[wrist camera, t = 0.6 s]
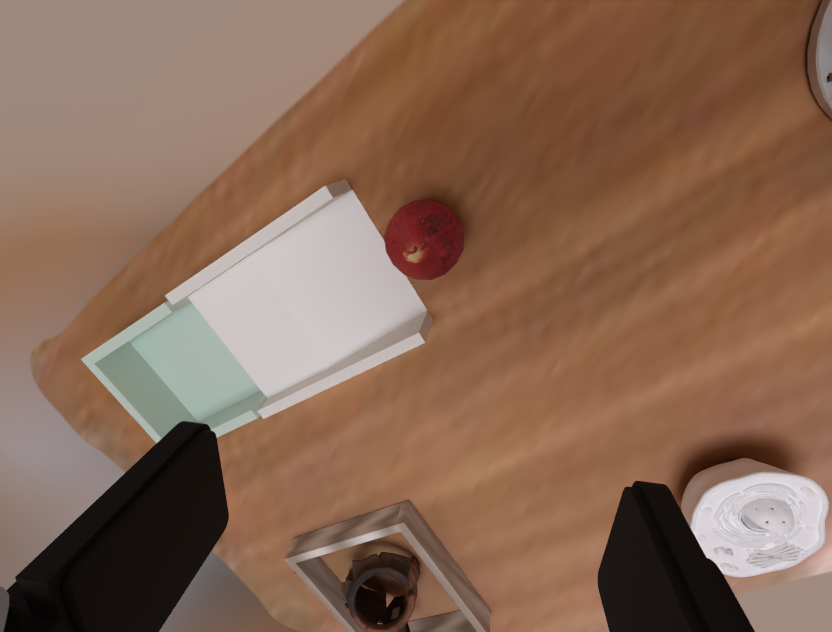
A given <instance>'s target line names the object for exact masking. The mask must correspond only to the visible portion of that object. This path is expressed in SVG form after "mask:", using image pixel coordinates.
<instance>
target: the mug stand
mask: <svg viewBox="0 0 832 632" xmlns="http://www.w3.org/2000/svg"><path fill="white" fill-rule="evenodd" d="M397 532H402V534H403V535H404V536H405V538H406V539H407V540H408V542H409V543H410V544H411V546H412V547H413V548H414V549H415V551H416V552H417V553H418V555H419V556H420V557H421V559H422V560H423V561H424V563H425V564H426V565H427V567H428V568H429V569H430V570H431V572H432V573H433V574H434V576H435V577H436V578H437V580H438V581H439V582H440V584H441V585H442V586H443V588H444V589H445V590H446V591H447V593H448V594H449V595H450V597H451V598H452V599H453V601H454V602H455V603H456V605H457V606H458V607H459V608H460V610H461V611H456V612H452V613H447V614H442V615H437V616H433V617H428V618H423V619H419V620H414V621H409V622H408V625H409V628H410V632H490V609H489V608H488V607H487V605H486V604H485V603H484V601H483V600H482V599H481V597H480V596H479V594H478V593H477V592H476V590H475V589H474V588H473V586H472V585H471V584H470V582H469V581H468V579H467V578H466V577H465V575H464V574H463V573H462V571H461V570H460V569H459V567H458V566H457V565H456V563H455V562H454V560H453V559H452V558H451V556H450V555H449V554H448V552H447V551H446V550H445V548H444V547H443V545H442V544H441V543H440V541H439V540H438V539H437V537H436V536H435V535H434V533H433V532H432V531H431V529H430V528H429V526H428V525H427V524H426V522H425V521H424V520H423V518H422V517H421V516H420V514H419V513H418V511H417V510H416V509H415V507H414V506H413V505H412V503H411V502H410V501H409V500H408V501H405V502H402V503H399V504H396V505H393V506H389V507H386V508H383V509H380V510H377V511H374V512H371V513H368V514H365V515H362V516H359V517H356V518H353V519H350V520H347V521H344V522H341V523H338V524H335V525H332V526H329V527H325V528H322V529H319V530H316V531H313V532H310V533H307V534H304V535H301V536H298V537H295V538H294V540H293V542H292V544H291V546H290V548H289V550H288V552H287V554H286V556H285V558H284V560H285V561H286V562H287V563H288V564H289V566H290V567H291V568H292V569H293V570H294V571H295V572H296V573H297V575H298V576H299V577H300V578H301V579H302V580H303V581H304V582H305V584H306V585H307V586H308V587H309V588H310V589H311V590H312V592H313V593H314V594H315V595H316V596H317V597H318V598H319V599H320V601H321V602H322V603H323V604H324V605H325V606H326V607H327V608H328V610H329V611H330V612H331V613H332V614H333V615H334V616H335V617H336V619H337V620H338V621H339V622H340V623H341V624H342V625H343V627H344V628H345V629H346V630H347V631H348V632H366V631H364V630H362V629H361V628H360V627H359V626H358V625H357V624H356V623H355V621H354V620H353V619H352V618H351V616H350V615H349V614H348V612H347V610H346V608H345V606H344V604H345V603H347V601H346V599H345V597H344V595H343V592H342V590H341V586H342V583H341V582H340V581H339V580H338V578H337V577H336V576H335V575H334V574H333V573H332V571H331V570H330V569H329V568H328V567H327V566H326V564H325V563H324V562H323V561H322V560H321V558H320V557H319V556H321V555H324V554H327V553H331V552H334V551H337V550H341V549H344V548H347V547H351V546H354V545H357V544H361V543H364V542H367V541H371V540H374V539H377V538H381V537H384V536H387V535H391V534H394V533H397Z"/></svg>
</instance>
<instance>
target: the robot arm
mask: <svg viewBox="0 0 832 632" xmlns="http://www.w3.org/2000/svg"><path fill="white" fill-rule="evenodd" d="M807 56H808V76H809V80H810V85H811V89H812V92H813V94H814V96H815V98H816V99H817V101H818V103H819V105H820V107H821V108H822V109H823V110H824V111H825V112H826V113H827V115H828V116H829V117H830V118H831V119H832V0H823V1H822V3H821V5H820V7H819V10H818V13H817V15H816V18H815V21H814V23H813V26H812V30H811V35H810V40H809V45H808V51H807ZM828 75H829V79H828V81H827V76H828ZM228 518H229V513H228V507H227V501H226V494H225V488H224V482H223V475H222V469H221V463H220V457H219V450H218V444H217V438H216V434H215V432H214V431H211V429H210V427H209V426H208V424H203V423H196V422H188V421H182V422H180V423H178V424H177V425H176V426H175V427H174V428H172V429H171V430H170V431H169V432H168V433H167V434H166V435H165V436H164V437H163V438H162V439H161V440H160V441H159V442H158V443H157V444H156V445H155V446H153V447H152V448H151V449H150V450H149V451H148V452H147V453H146V454H145V455H144V456H143V457H142V458H141V459H140V460H139V461H138V462H137V463H135V464H134V465H133V466H132V467H131V468H130V469H129V470H128V471H127V472H126V473H125V474H124V475H123V476H122V477H121V478H120V479H119V480H118V481H117V482H115V483H114V484H113V485H112V486H111V487H110V488H109V489H108V490H107V491H106V492H105V493H104V494H103V495H102V496H101V497H100V498H99V499H97V500H96V501H95V502H94V503H93V504H92V505H91V506H90V507H89V508H88V509H87V510H86V511H85V512H84V513H83V514H82V515H81V516H79V517H78V518H77V519H76V520H75V521H74V522H73V523H72V524H71V525H70V526H69V527H68V528H67V529H66V530H65V531H64V532H63V533H62V534H60V536H58V537H57V538H56V539H55V540H54V541H53V542H52V543H51V544H50V545H49V546H48V547H47V548H46V549H45V550H44V551H42V552H41V553H40V554H39V555H38V556H37V557H36V558H35V559H34V560H33V561H32V562H31V563H30V564H29V565H28V566H27V567H26V568H25V569H24V570H23V571H21V572H20V573H19V574H18V575H17V576H16V577H15V578H16V580H17V581H16V582H15V583H14V584H13V585H12V586H11V587H10V588H9V589H8V590H7V591H6V590H5V589H4V588H3V587H0V632H159V630H160V629H161V627H162V626H163V624H164V623H165V621H166V619H167V618H168V616H169V615H170V614H171V612H172V610H173V609H174V607H175V606H176V604H177V603H178V601H179V600H180V598H181V597H182V595H183V594H184V592H185V590H186V589H187V587H188V586H189V584H190V583H191V581H192V580H193V578H194V577H195V575H196V574H197V572H198V570H199V569H200V567H201V566H202V564H203V563H204V561H205V560H206V558H207V557H208V555H209V553H210V552H211V550H212V549H213V547H214V546H215V544H216V543H217V541H218V540H219V538H220V537H221V535H222V534H223V532H224V530H225V528H226V526H227V523H228ZM598 588H599V593H600V597H601V600H602V604H603V608H604V612H605V616H606V619H607V623H608V627H609V631H610V632H755V631H754V629H753V628H752V626H751V624H750V622H749V620H748V619H747V617H746V615H745V613H744V611H743V610H742V608H741V606H740V604H739V603H738V601H737V599H736V597H735V595H734V593H733V592H732V590H731V588H730V586H729V584H728V583H727V581H726V579H725V577H724V575H723V574H722V572H721V570H720V569H719V568H718V566H717V565H716V563H714V562H713V561H712V560H711V559H709V558H706V556H705V554H704V552H703V550H702V548H701V547H700V545H699V543H698V541H697V539H696V537H695V535H694V534H693V532H692V530H691V528H690V526H689V524H688V523H687V521H686V519H685V517H684V515H683V513H682V511H681V510H680V508H679V506H678V504H677V502H676V500H675V498H674V497H673V495H672V493H671V491H670V489H669V488H668V487H667V486H666V485H664V484H658V483H650V482H643V481H635V482H634V483H633V485H632V487H625V488H624V490H623V493H622V497H621V500H620V503H619V506H618V510H617V513H616V516H615V519H614V523H613V526H612V529H611V532H610V536H609V539H608V542H607V545H606V549H605V552H604V555H603V558H602V562H601V565H600V568H599V572H598Z"/></svg>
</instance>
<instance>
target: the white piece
mask: <svg viewBox="0 0 832 632" xmlns="http://www.w3.org/2000/svg"><path fill="white" fill-rule="evenodd" d="M165 297H166V298H167V299H168V300H169V302H170V303H171V304H172V305H174V304H176V303H178V302H179V301H181V300H183V299H185V298H187V297H188V298H189V300H190V301H191V302H192V303H193V305H194V306H195V307H196V309H197V310H198V311H199V312H200V314H201V315H202V316H203V317H204V319H205V320H206V321H207V322H208V324H209V325H210V326H211V328H212V329H213V330H214V331H215V333H216V334H217V335H218V336H219V338H220V339H221V340H222V342H223V343H224V344H225V345H226V347H227V348H228V349H229V350H230V352H231V353H232V354H233V356H234V357H235V358H236V359H237V361H238V362H239V363H240V364H241V366H242V367H243V368H244V369H245V371H246V372H247V373H248V375H249V376H250V377H251V378H252V380H253V381H254V382H255V383H256V385H257V386H258V387H259V389H260V390H261V391H262V392H263V394H264V395H265V396H266V397H267V400H266V401H265V402H264V403H263V405H262V406H261V407H260V408H259V409H258V410H257V411H258V412H259V414H260V415H261V416H262V417H263V419H265V418H267V417H269V416H271V415H273V414H275V413H277V412H279V411H281V410H284V409H286V408H288V407H290V406H292V405H294V404H296V403H298V402H301V401H303V400H305V399H307V398H309V397H311V396H313V395H315V394H317V393H320V392H322V391H324V390H326V389H328V388H330V387H332V386H334V385H337V384H339V383H341V382H343V381H345V380H347V379H349V378H351V377H353V376H356V375H358V374H360V373H362V372H364V371H366V370H368V369H370V368H373V367H375V366H377V365H379V364H381V363H383V362H385V361H387V360H390V359H392V358H394V357H396V356H398V355H400V354H402V353H404V352H406V351H409V350H411V349H413V348H415V347H417V346H419V345H421V344H423V343H425V342H426V339H427V336H428V333H429V330H430V328H431V325H432V322H433V319H432V317H431V316H430V314H429V312H428V311H427V309H426V307H425V306H424V304H423V303H422V301H421V299H420V298H419V296H418V295H417V293H416V291H415V290H414V288H413V287H412V285H411V283H410V282H409V280H408V278H407V277H406V275H404V274H403V273H402V272H400V271H399V270H398V269H397V268H396V267H395V266H394V265H393V264H392V262H391V260H390V258H389V256H388V255H387V253H386V248H385V241H384V240H383V238H382V237H381V235H380V233H379V232H378V230H377V229H376V227H375V225H374V224H373V222H372V220H371V219H370V217H369V216H368V214H367V212H366V211H365V209H364V208H363V206H362V204H361V203H360V201H359V200H358V198H357V196H356V195H355V193H354V191H353V190H352V188H351V187H350V185H349V184H348V182H347V180H346V179H343V180H340V181H337V182H335V183H332V184H329V185H326V186H324V187H323V188H321V189H320V190H318V191H317V192H315V193H314V194H312V195H311V196H309V197H308V198H306V199H305V200H304V201H302V202H301V203H299V204H298V205H296V206H295V207H293V208H292V209H290V210H289V211H287V212H286V213H285V214H283V215H282V216H280V217H279V218H277V219H276V220H274V221H273V222H271V223H270V224H269V225H267V226H266V227H264V228H263V229H261V230H260V231H258V232H257V233H255V234H254V235H252V236H251V237H250V238H248V239H247V240H245V241H244V242H242V243H241V244H239V245H238V246H236V247H235V248H234V249H232V250H231V251H229V252H228V253H226V254H225V255H223V256H222V257H220V258H219V259H217V260H216V261H215V262H213V263H212V264H210V265H209V266H207V267H206V268H204V269H203V270H201V271H200V272H199V273H197V274H196V275H194V276H193V277H191V278H190V279H188V280H187V281H185V282H184V283H182V284H181V285H180V286H178V287H177V288H175V289H174V290H172V291H171V292H169V293H168V294H166V295H165Z"/></svg>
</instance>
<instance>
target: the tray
mask: <svg viewBox="0 0 832 632" xmlns="http://www.w3.org/2000/svg"><path fill="white" fill-rule="evenodd" d="M81 360H82V361H83V362H84V363H85V365H86V366H87V367H88V368H89V369H90V370H91V371H92V372H93V373H94V374H95V376H96V377H97V378H98V379H99V380H100V381H101V382H102V383H103V384H104V386H105V387H106V388H107V389H108V390H109V391H110V392H111V393H112V394H113V395H114V397H115V398H116V399H117V400H118V401H119V402H120V403H121V404H122V405H123V407H124V408H125V409H126V410H127V411H128V412H129V413H130V414H131V415H132V416H133V418H134V419H135V420H136V421H137V422H138V423H139V424H140V425H141V426H142V428H143V429H144V430H145V431H146V432H147V433H148V434H149V435H150V436H151V437H152V439H153V440H154V441H155V442H156V443H158V442H159V441H160V440H161V439H162V438H163V437H164V436H165V435H166V434H167V433H168V432H169V431H170V430H171V429H172V428H174V427H175V426H176V425H177V424H178V423H180V422H182V421H188V422H196V423H203V424H208V426H209V427H210V429H211V431H214V432H215V434H216V438H217V437H219V436H221V435H223V434H225V433H228V432H230V431H232V430H234V429H236V428H238V427H240V426H242V425H244V424H246V423H249V422H251V421H253V420H255V419H257V418H258V417H259V416H260V414H259V412H258V411H257V410H258V409H259V408H260V407H261V406H262V405H263V403H264V402H265V401H266V400H267V397H266V396H265V395H264V394H263V392H262V391H261V390H260V389H259V387H258V386H257V385H256V383H255V382H254V381H253V380H252V378H251V377H250V376H249V375H248V373H247V372H246V371H245V369H244V368H243V367H242V366H241V364H240V363H239V362H238V361H237V359H236V358H235V357H234V356H233V354H232V353H231V352H230V350H229V349H228V348H227V347H226V345H225V344H224V343H223V342H222V340H221V339H220V338H219V336H218V335H217V334H216V333H215V331H214V330H213V329H212V328H211V326H210V325H209V324H208V322H207V321H206V320H205V319H204V317H203V316H202V315H201V314H200V312H199V311H198V310H197V309H196V307H195V306H194V305H193V303H192V302H191V301H190V300H189V298H188V297H187V298H185V299H183V300H181V301H179V302H178V303H176V304H174V305H172V304H171V303H170V302H169V301H167V302H165V303H163V304H162V305H160V306H159V307H157V308H156V309H154V310H153V311H151V312H150V313H148V314H147V315H146V316H144V317H143V318H141V319H140V320H138V321H137V322H135V323H134V324H132V325H131V326H129V327H128V328H126V329H125V330H123V331H122V332H120V333H119V334H117V335H116V336H114V337H113V338H112V339H110V340H109V341H107V342H106V343H104V344H103V345H101V346H100V347H98V348H97V349H95V350H94V351H92V352H91V353H89V354H88V355H86V356H85V357H83V358H82V359H81Z"/></svg>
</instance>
